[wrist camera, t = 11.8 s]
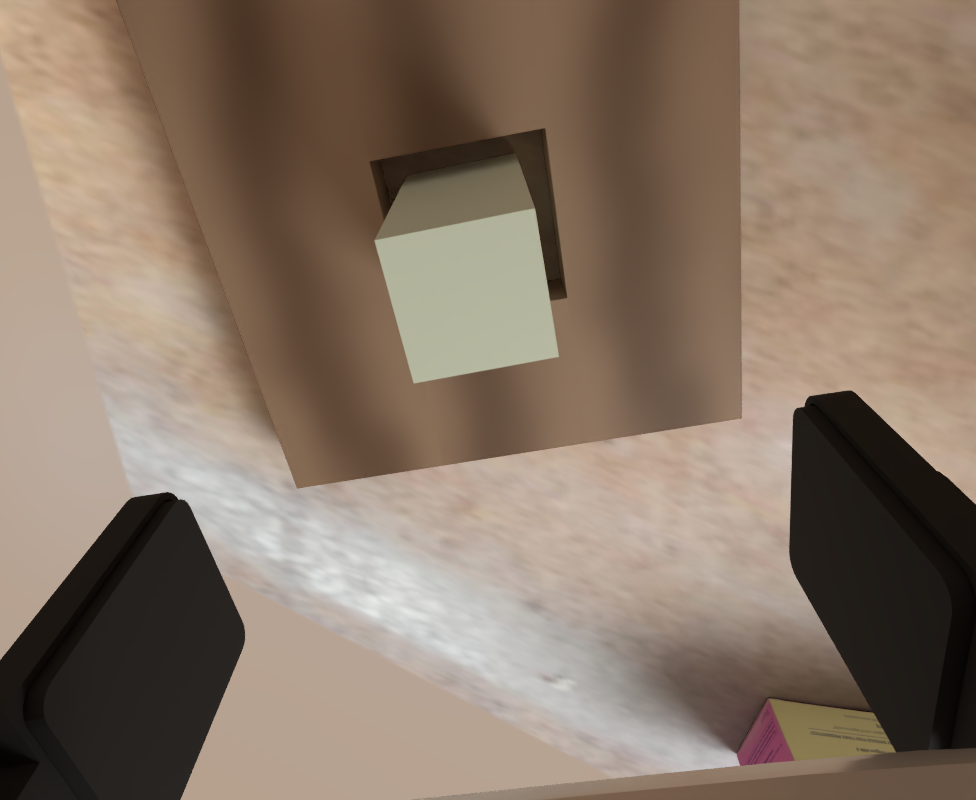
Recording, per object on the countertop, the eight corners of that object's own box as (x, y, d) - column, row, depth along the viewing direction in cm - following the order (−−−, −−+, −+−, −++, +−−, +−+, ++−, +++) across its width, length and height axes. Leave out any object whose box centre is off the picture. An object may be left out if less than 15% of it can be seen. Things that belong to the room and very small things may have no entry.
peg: (515, 153, 27) (535, 208, 18) (533, 260, 29) (558, 356, 20) (406, 175, 28) (374, 240, 19) (432, 280, 30) (413, 383, 21)
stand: (712, -134, 23) (738, -152, 21) (723, 392, 32) (741, 418, 30) (142, -13, 24) (109, -18, 22) (309, 458, 34) (297, 488, 31)
